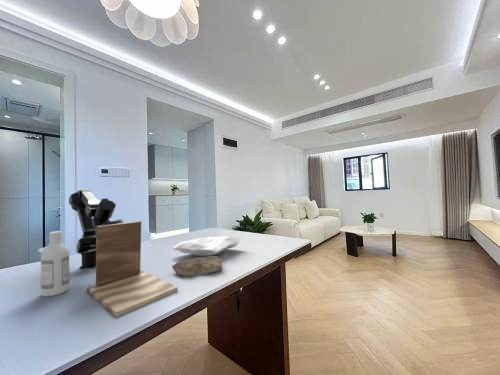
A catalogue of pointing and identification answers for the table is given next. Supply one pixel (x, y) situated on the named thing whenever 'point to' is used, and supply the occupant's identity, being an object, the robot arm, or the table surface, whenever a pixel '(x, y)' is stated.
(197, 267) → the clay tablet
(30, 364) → the table surface
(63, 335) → the table surface
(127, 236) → the walnut plank
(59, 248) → the bath foam
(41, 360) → the table surface
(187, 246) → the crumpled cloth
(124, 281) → the oak floor board
